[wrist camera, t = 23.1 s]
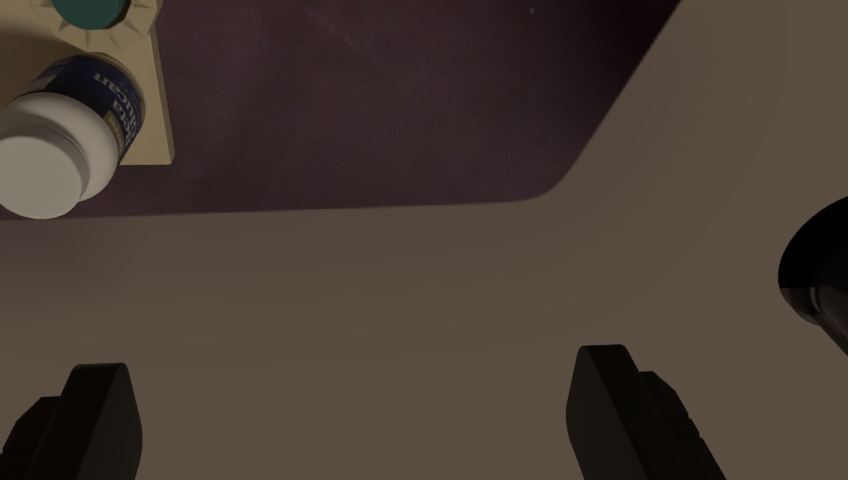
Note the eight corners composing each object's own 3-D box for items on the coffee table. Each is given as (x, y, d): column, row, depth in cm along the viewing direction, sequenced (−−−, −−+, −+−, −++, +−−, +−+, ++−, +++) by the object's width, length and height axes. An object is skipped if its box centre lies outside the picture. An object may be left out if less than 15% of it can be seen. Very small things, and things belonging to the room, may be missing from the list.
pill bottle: (169, 111, 39) (126, 195, 31) (96, 160, 40) (35, 254, 32) (96, 29, 36) (27, 97, 28) (20, 84, 37) (-69, 165, 29)
